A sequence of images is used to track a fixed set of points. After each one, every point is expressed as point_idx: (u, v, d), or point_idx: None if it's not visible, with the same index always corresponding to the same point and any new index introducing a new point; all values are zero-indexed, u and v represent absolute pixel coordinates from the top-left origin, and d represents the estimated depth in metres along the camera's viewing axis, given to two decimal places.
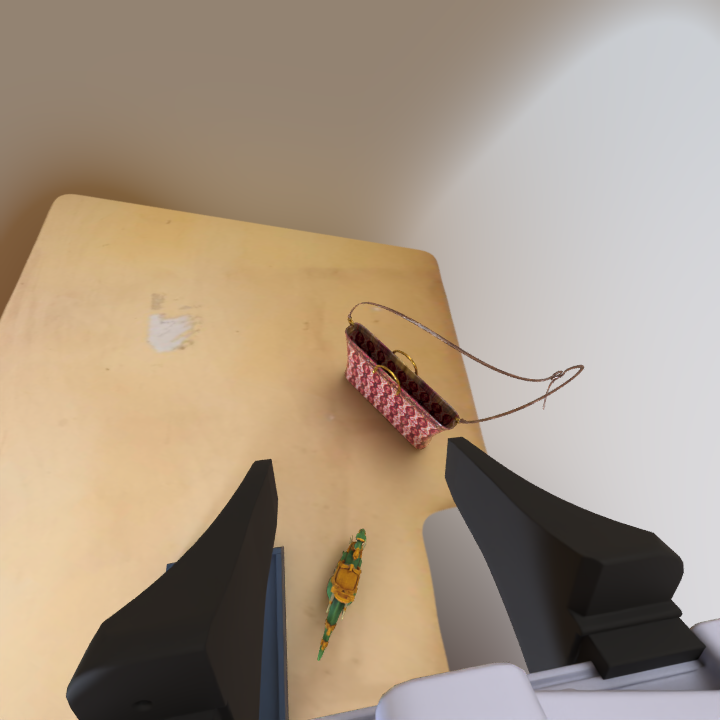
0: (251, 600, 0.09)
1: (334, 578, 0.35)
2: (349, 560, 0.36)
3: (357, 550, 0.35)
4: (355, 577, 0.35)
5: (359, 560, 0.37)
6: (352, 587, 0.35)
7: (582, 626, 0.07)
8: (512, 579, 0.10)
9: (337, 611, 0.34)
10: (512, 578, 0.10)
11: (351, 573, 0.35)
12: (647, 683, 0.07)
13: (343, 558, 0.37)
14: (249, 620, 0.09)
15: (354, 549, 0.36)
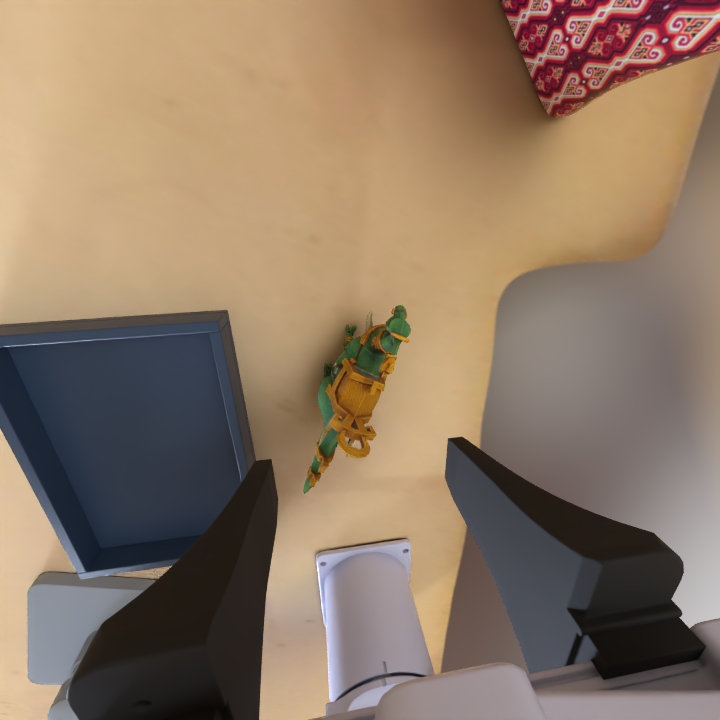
0: (251, 600, 0.09)
1: (334, 391, 0.18)
2: (366, 363, 0.17)
3: (392, 360, 0.15)
4: (377, 395, 0.17)
5: (384, 359, 0.18)
6: (370, 410, 0.17)
7: (582, 626, 0.07)
8: (512, 579, 0.10)
9: None
10: (512, 578, 0.10)
11: None
12: (646, 683, 0.07)
13: (352, 354, 0.18)
14: (249, 620, 0.09)
15: (381, 349, 0.16)
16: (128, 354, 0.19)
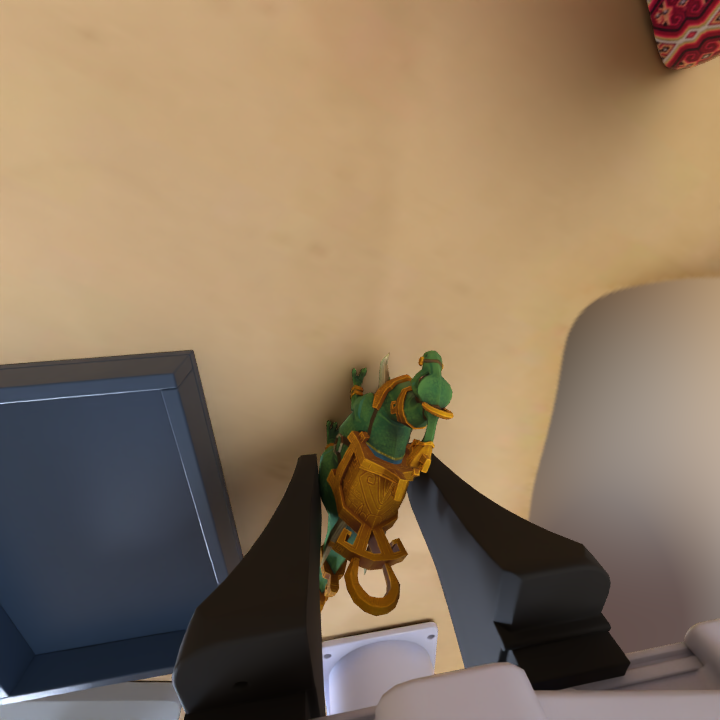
0: (316, 589, 0.09)
1: (339, 482, 0.12)
2: (383, 440, 0.11)
3: (427, 450, 0.09)
4: (404, 487, 0.11)
5: None
6: (395, 510, 0.12)
7: (506, 641, 0.07)
8: (455, 589, 0.10)
9: None
10: (455, 588, 0.10)
11: (394, 485, 0.11)
12: (647, 683, 0.07)
13: (362, 423, 0.12)
14: (316, 609, 0.09)
15: (406, 423, 0.10)
16: (50, 414, 0.14)
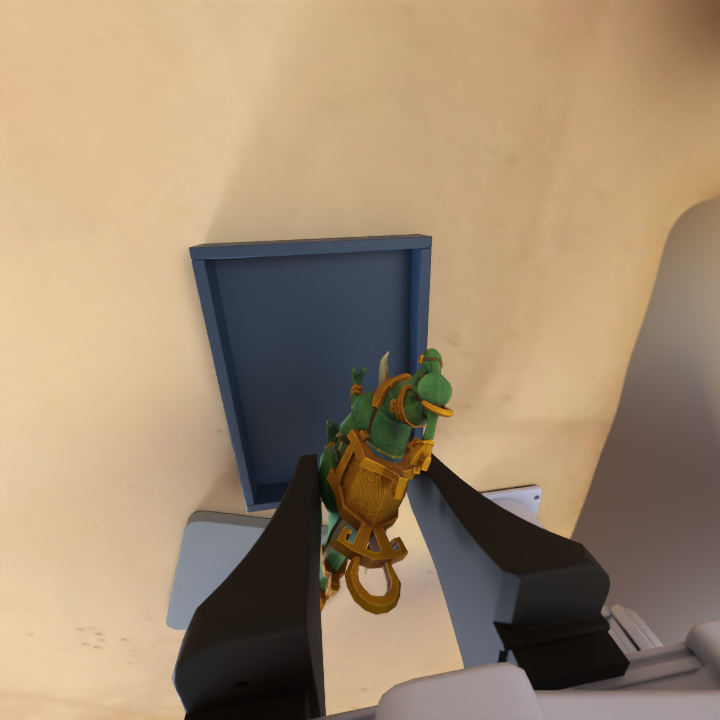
0: (316, 589, 0.09)
1: (339, 481, 0.12)
2: (383, 439, 0.11)
3: (427, 448, 0.09)
4: (405, 486, 0.11)
5: None
6: (395, 509, 0.11)
7: (506, 641, 0.07)
8: (454, 589, 0.10)
9: None
10: (454, 588, 0.10)
11: (394, 483, 0.11)
12: (646, 683, 0.07)
13: (362, 422, 0.12)
14: (316, 609, 0.09)
15: (406, 421, 0.10)
16: (324, 277, 0.20)
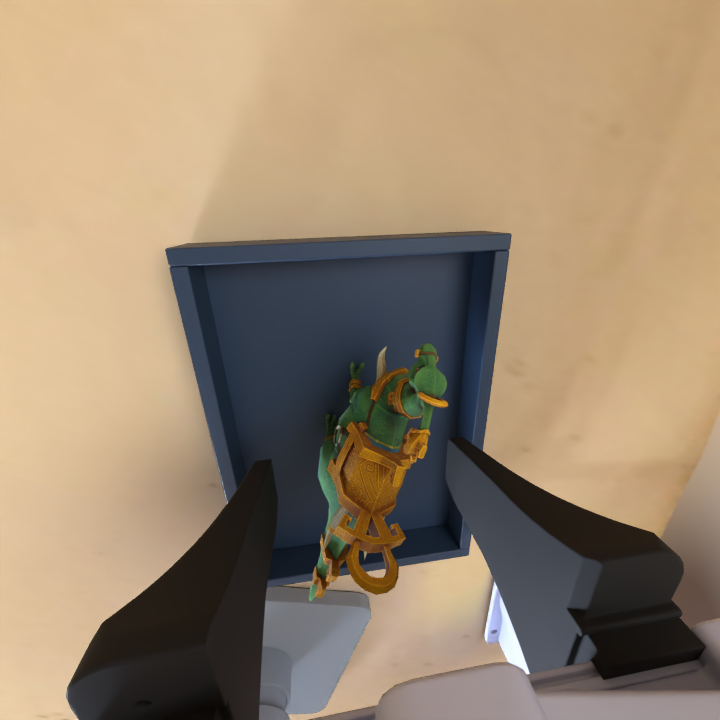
0: (251, 600, 0.09)
1: (339, 471, 0.12)
2: (381, 430, 0.12)
3: (423, 437, 0.10)
4: (402, 475, 0.12)
5: None
6: (393, 497, 0.12)
7: (582, 626, 0.07)
8: (512, 579, 0.10)
9: None
10: (512, 579, 0.10)
11: (392, 472, 0.11)
12: (647, 683, 0.07)
13: (361, 414, 0.12)
14: (249, 620, 0.09)
15: (403, 413, 0.11)
16: (354, 289, 0.14)
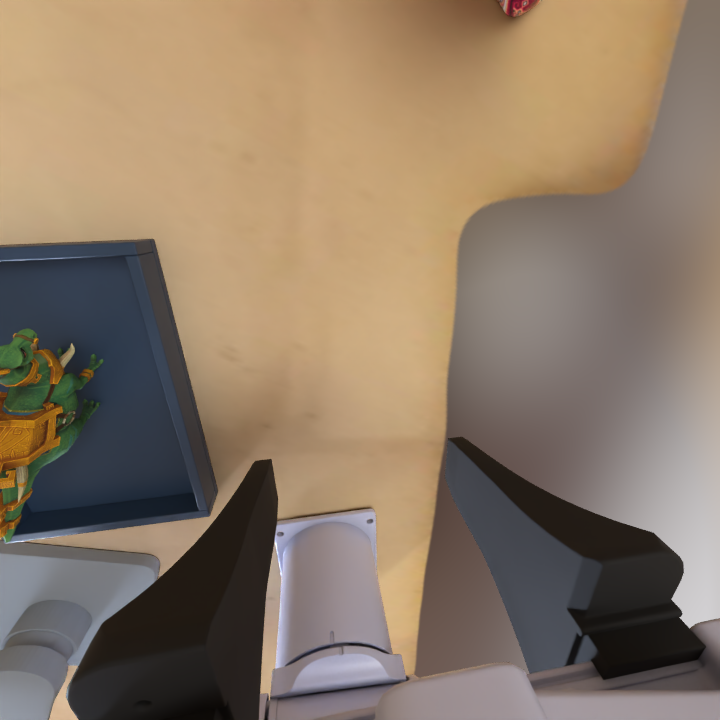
0: (251, 600, 0.09)
1: None
2: (10, 398, 0.15)
3: None
4: (27, 433, 0.15)
5: (51, 389, 0.16)
6: (24, 451, 0.15)
7: (582, 626, 0.07)
8: (512, 579, 0.10)
9: None
10: (512, 578, 0.10)
11: (8, 430, 0.15)
12: (646, 683, 0.07)
13: (9, 386, 0.16)
14: (249, 620, 0.09)
15: (1, 382, 0.14)
16: (43, 287, 0.18)
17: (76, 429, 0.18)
